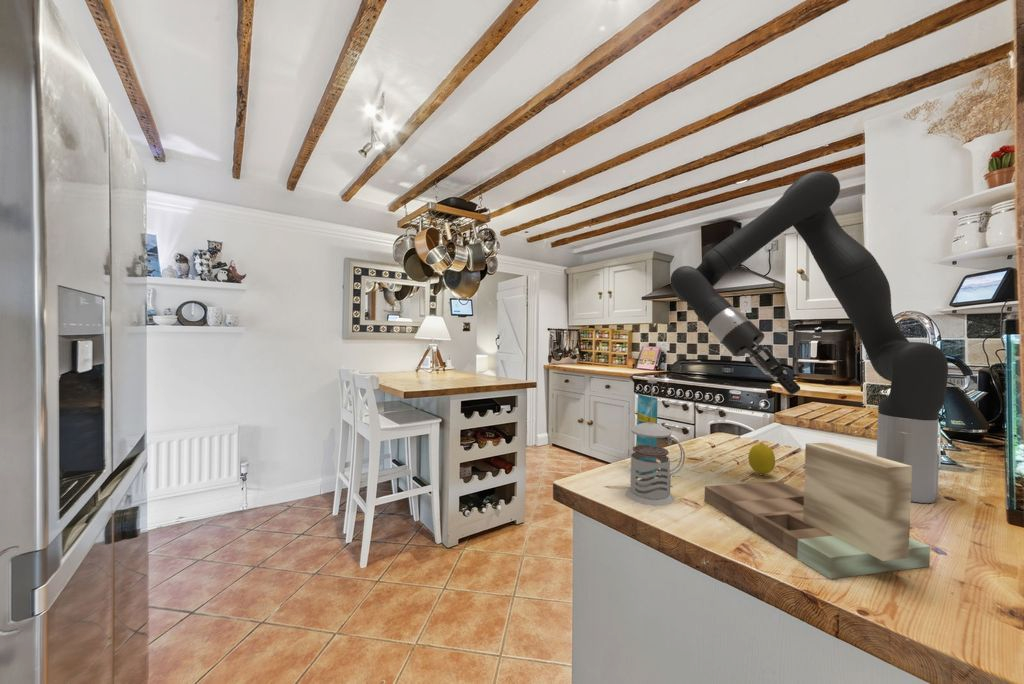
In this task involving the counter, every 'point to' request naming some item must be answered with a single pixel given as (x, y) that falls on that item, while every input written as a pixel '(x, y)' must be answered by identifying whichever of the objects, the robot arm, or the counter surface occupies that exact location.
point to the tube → (646, 421)
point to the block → (859, 499)
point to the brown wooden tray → (802, 530)
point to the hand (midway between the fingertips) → (796, 392)
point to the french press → (651, 465)
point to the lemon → (761, 459)
